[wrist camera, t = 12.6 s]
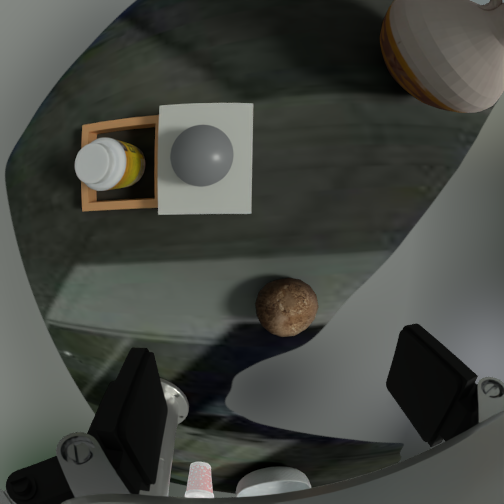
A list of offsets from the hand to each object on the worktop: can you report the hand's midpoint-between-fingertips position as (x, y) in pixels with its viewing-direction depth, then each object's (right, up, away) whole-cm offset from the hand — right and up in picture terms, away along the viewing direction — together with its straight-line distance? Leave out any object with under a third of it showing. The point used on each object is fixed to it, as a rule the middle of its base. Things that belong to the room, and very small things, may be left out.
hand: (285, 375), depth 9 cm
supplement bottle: (-17, +15, +23) cm, 32 cm away
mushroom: (+3, -2, +29) cm, 29 cm away
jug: (+22, +33, +21) cm, 45 cm away
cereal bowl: (+3, -48, +42) cm, 64 cm away
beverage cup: (-13, -43, +39) cm, 60 cm away
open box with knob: (-12, +15, +23) cm, 30 cm away
